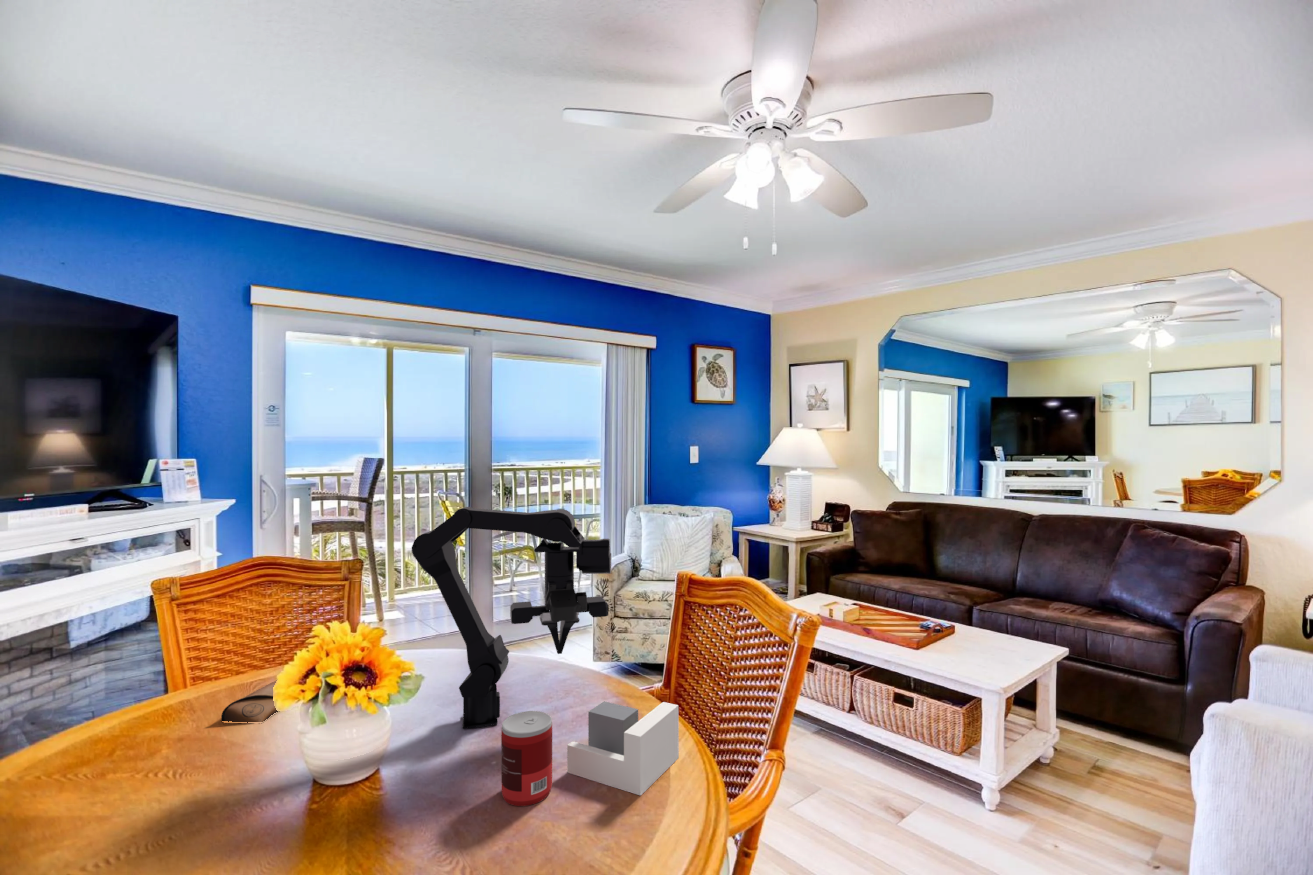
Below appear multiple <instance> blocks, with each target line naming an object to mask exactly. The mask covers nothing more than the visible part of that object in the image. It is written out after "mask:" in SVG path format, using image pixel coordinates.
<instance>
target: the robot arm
mask: <svg viewBox="0 0 1313 875" xmlns="http://www.w3.org/2000/svg"><path fill="white" fill-rule="evenodd" d="M468 529H473V530H474V529H475V530H486V531H487V530H488V531H501V532H514V533H525V534H528V535H531V536H534V537H537V538H539V539H542V540H541V541H540V543H539V544H538V545H537V546H536V547H535V548H534V550H533V551H534V552H535V553H544V605H534V606H533V605H532V602H531V601H518V602H517V601H516V602H512V603H511V605H510V606H509V608H510V609H509V611H510V612H509V617H510V621H511V625H520V624H530V622H531V621H533V618H534V617H539V620H540V624H541V625H542V626H543V627H544V626H547V628H548V630H549V632H550V634H551V637H552V640H553V643H554V647H555V650H556V654H558V655H560V654H563V650H564V648H565V645H566V642H567V638H568V635H569V633H570V631H571V629H572V627H573V626H574V625H575V624H578V623H580V618H579V615H580V614H581V613H588V614H589V615H590V616H591V617H592V618H601V617H602V618H604V617H608V616H609V603H608V602H607V601H606V600H605V599H604V598H603V597H602V595H600V596H599V595H598V596H588V595H587V592H586V591H584V592H576V591H575V575H574V574H575V572H574V571H575V568H574V565H576V570H578V571H581V573H582V575H587V574H588V575H593V574H594V575H597V574H601V575H602V574H607V575H608V574H611V573H612V552H611V540H610V538H601V539H585V537H584V535H583V534H582V533H581V532H580V530H579V529H578V527H577V526H576V520H575V517H574V515H573V514H572V513H571V512H570V511H569V510H567V509H563V508H561V509H549V510H541V511H531V512H523V511H513V510H512V511H510V510H498V509H487V508H486V509H485V508H475V507H472V506H465V507H461V508H459V509H457V510H455V512H454V513H453V514H452V515H451V516H450V517H448V518H447V519H446V520H444V521H443V522H442V523H441V524H439V525H438V526H437V527H435V528H434V529H433V530H432V529H431V530H430V531H429V530H428V531H427V532H424V533H422V534H419V535H418V536H417V537H416V538H415V539H414V540H413V542H412V546H411V552H412V555H413V557H414V558H415V560H416V561H417V563H418V564H419V566H420V567H421V568H422V570H423V571H425V572H426V573H427V574H428V576H430V577H431V578H432V579H433V580H434V581H435V583H436V585H437V587H438V589H439V592H440V593H441V596H442V597H443V600H444V602H445V604H446V606H447V608H448V610H449V612H450V615H451V617H452V619H453V620H454V622H455V625H456V626H457V629H458V632H459V633H460V635H461V637H462V640H463V641H464V644H465V646H466V656H467V657H466V659H467V665H468V669H469V674H468V675H467V676H466V678H464V680H463V681H462V683H460V685H459V686H458V689H459V692H460V694H461V697H462V700H463V701H462V702H463V703H462V709H463V714H462V726H461V727H462V730H463V729H464V730H466V729H473V728H474V729H476V728H483V727H491V726H496V725H498V722H499V721H498V719H499V718H500V717H501V695H500V691H498V689H497V683H498V682H499V680H501V678H502V677H503V674H504V673H505V671H506V669H507V668H508V665H509V661H510V660H509V653H510V650H509V649H507V647H506V646H505V643H504V640H503V637H502V635H501V634H499V635H498V636H496V637H494V636H493V635H492V634H491V633H490V632H488V630H487V628H486V626H485V624H484V622H483V620H482V617H481V615H480V613H479V612H478V610H477V608H476V605H475V603H474V602H473V599H472V597H471V595H470V593H469V591H468V589H467V586H466V584H465V583H464V581H463V578H462V576H461V574H460V572H459V569H458V566H457V557H456V554H457V553H456V550H455V547H454V544H453V543H454V542H455V541H456V540H458V539H459V538H460V537H461V536H462V535H463V534H464V533H465V532H466V531H468ZM550 541H551V542H550ZM565 545H566V546H565ZM575 553H576V555H574V554H575ZM575 556H576V557H575ZM574 557H575V558H574ZM574 561H575V562H576V563H575V562H574ZM574 563H575V564H574ZM559 622H560V624H559ZM558 624H559V625H560V626H559V625H558ZM558 626H559V628H558ZM558 629H559V631H558Z"/></svg>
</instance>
